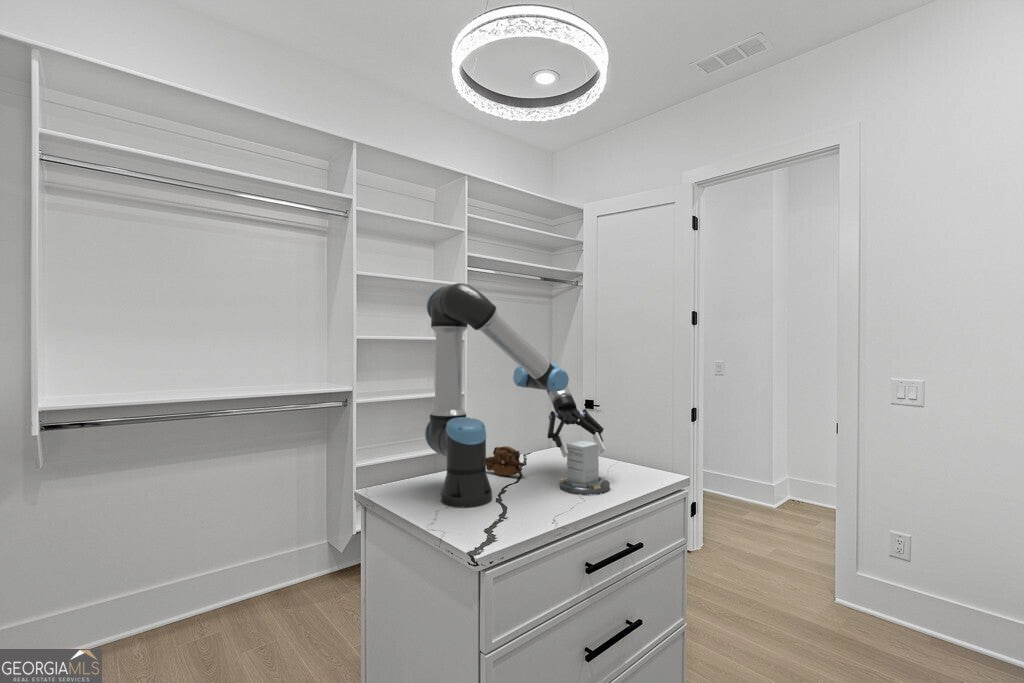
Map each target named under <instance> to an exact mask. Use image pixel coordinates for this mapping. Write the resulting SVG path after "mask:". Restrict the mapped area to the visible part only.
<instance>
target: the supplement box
mask: <svg viewBox="0 0 1024 683" xmlns="http://www.w3.org/2000/svg"><path fill="white" fill-rule="evenodd" d="M566 448H567V450H568V454H567V455H566V473H567V474H566V477H567V479H568V480H570V481H572V482H574V483H583V484H590V483H597V482H599V476H600V474H599V473H600V472H599V465H600V464H599V450H598V444H597V443H595V442H591V441H587V440H577V441H571V442H568V443H566Z"/></svg>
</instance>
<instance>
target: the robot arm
mask: <svg viewBox="0 0 1024 683" xmlns="http://www.w3.org/2000/svg"><path fill="white" fill-rule="evenodd" d="M426 312H427V315H428V316H429V318H430V328H431V330H433V332H434V333H435V363H434V364H435V365H434V367H435V368H434V369H435V370H434V372H435V376H434V377H435V379H434V380H435V381H434V408H433V409H432V410H431V411H430V412H429V421H428V423H427V425H426V426H425V430H424V438H425V442H426V444H427V445H428V447H429V448H430V449H431V450H432V451H434V452H435V453H437V454H439V455H442V456H444V457H445V458H446V475H445V478H444V482H443V485H442V488H441V492H440V501H441V503H442V504H444V505H447V506H450V507H458V508H470V507H477V506H482V505H486V504H488V503H490V502H491V501H492V498H493V492H492V488H491V483H490V480H489V478H488V475H487V469H486V458H487V431H486V425H485V423H484V422H483V421H482V420H480V419H478V418H474V417H473V418H471V417H468V416H467V412H466V410H465V409H463V406H462V405H463V401H462V400H463V396H462V395H463V340H464V339H463V336H464V333H465V332H466V331H467V329H468V326H470V327H471V328H472V329H473V330H474V331H480V332H481V333H482V334H484V335H485V336H486V337H487V338H488V339H489V340H490V341H492V343H493V344H495V345H496V346H497V347H498V348H499V349H500V350H501V351H502V352H504V353H505V355H507V356H508V357H509V358H510V359H512V360H513V361H514V362H515V363H516V364H517V365H518V366H517V367H515V369H514V371H513V376H512V379H513V383H514V385H515V386H516V387H521V388H529V389H536V390H542V391H543V390H545V391H546V392H547V394H548V396H549V399H550V401H551V404H552V407H553V410H554V411H553V410H551V411H550V413H549V414H548V418H549V419H548V420H549V424H548V430H547V437H546V438H547V439H551V441H553V442H555V445H556V447H557V448H559V450H560V452H561V455H562V457H563V458H567V454H568V450H567V444H566V442H565V441H564V438H563V435H562V434H560V433H561V431H562V429H563V427H564V425H576V426H580V427H581V428H583V429H584V430H585V431H586V432H588V433H590V434H591V435H593V436H592V439H593V440H594V443H597V444H598V453H599V454H603V453H604V452H605V450H606V447H605V446H604V443H603V442H604V439H603V437H602V435H601V434H602V433H603V431H604V429H605V428H604V427H603V426H602V425H600V423H598V421H596V420H595V419H594V417H592V416H591V415H590V414H589V412H588V410H587V409H586V408H583V409H582V410H580V411H579V410H578V407H577V404H576V402H575V399H574V398H573V394H572V393H571V390H570V388H569V386H568V385H569V380H570V379H569V374H568V372H567V371H566V370H565V369H562V368H560V366H559V365H558V364H557V363H555V362H550V361H549V360H548V359H547V358H546V357H545V356H544V355H542V353H541V352H539V351H538V350H537V349H536V348H535V347H534V346H533V345H532V344H531V343H530V342H529V341H528V340H527V339H526V338H525V337H524V336H523V335H522V334H521V333H519V331H518V330H516V329H515V328H514V327H513V326H512V325H511V324H510V323H509V322H508V321H507V320H506V319H505V318H504V317H503V316H501V315H500V313H499V312H498V308H497V306H496V305H495V304H494V303H493V302H492V301H491V300H489V299H488V298H487V296H485V295H484V294H483V293H481V291H480V290H478V289H476V288H475V287H473V286H471V285H469V284H466V283H465V282H464V283H461V282H460V283H459V282H456V283H453V284H451V285H443V286H441V287H438V288H437V289H435V290H433V291H432V293H431V294H430V295H429V296H428V297H427V300H426ZM556 419H558V420H560V421H559V425H558V426H557V428H556V431H555V423H556ZM554 431H555V432H554Z"/></svg>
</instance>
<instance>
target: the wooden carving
mask: <svg viewBox="0 0 1024 683" xmlns="http://www.w3.org/2000/svg"><path fill="white" fill-rule="evenodd" d="M492 454H493V456H488V457H486V471H490V472H492V471H493V472H494V473H495V474H497V475H499V476H504V477H505V476H507V477H508V476H514V475H517V474H520V473H521V472H522V469H521V468H520V467H523V466H525V465H526V464H525V462H521V461H520V457H521V453H520V451H519V450H516V449H515V448H513V447H512V446H505V445H504V446H500V447H499V446H495V447H494V449H493V451H492Z"/></svg>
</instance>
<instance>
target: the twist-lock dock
mask: <svg viewBox="0 0 1024 683" xmlns="http://www.w3.org/2000/svg"><path fill="white" fill-rule="evenodd" d="M610 484H611V483H610V482H609V481H608V480H607V479H606V478H604V477H602V476H600V475H599V482H597V483H590V484H583V483H574V482H572V481H570V480H568V479H567V476H565V477H563V478H562V477H560V478H559V482H558V488H559V489H560V490H561V491H562V490H563V492H564V491H565V492H564V493H567V492H568V493H567V494H571V493H572V494H571V495H577V494H582V495H581V496H590V495H589V494H597V495H601V494H600V493H603V494H605V493H604V492H606V493H607V491H608V490H609V489H610V490H611V485H610ZM610 490H609V491H610ZM609 491H608V492H609ZM587 494H588V495H587Z"/></svg>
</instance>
